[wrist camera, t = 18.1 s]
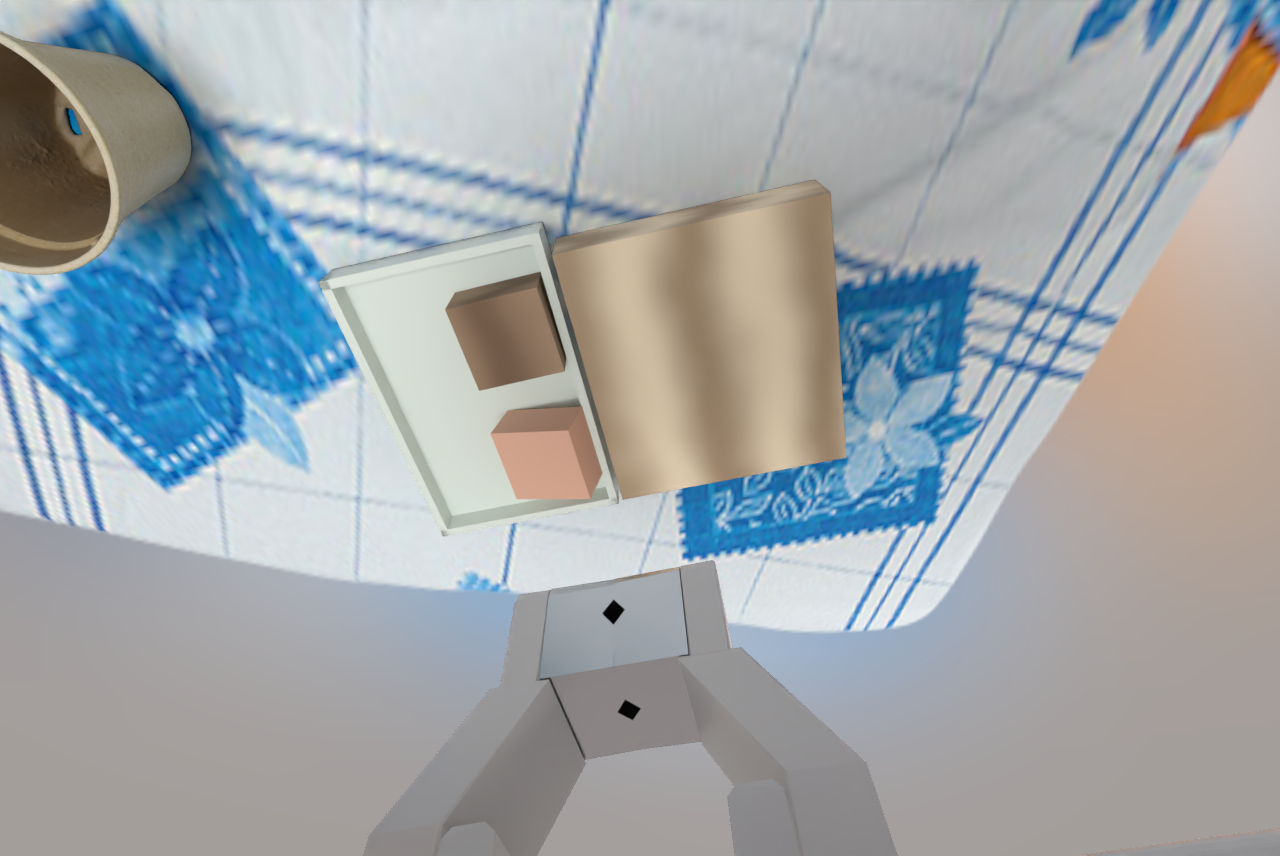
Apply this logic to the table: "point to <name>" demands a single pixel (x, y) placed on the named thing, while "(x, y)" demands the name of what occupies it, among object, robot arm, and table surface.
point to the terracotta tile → (548, 453)
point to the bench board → (711, 338)
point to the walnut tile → (507, 331)
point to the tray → (458, 374)
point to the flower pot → (78, 152)
